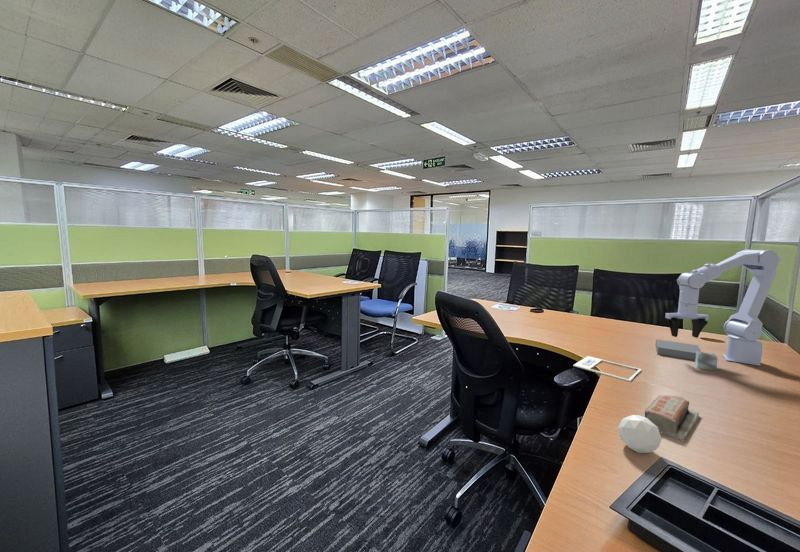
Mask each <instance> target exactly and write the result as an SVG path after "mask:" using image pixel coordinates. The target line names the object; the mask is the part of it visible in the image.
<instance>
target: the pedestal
mask: <svg viewBox="0 0 800 552" xmlns="http://www.w3.org/2000/svg"><path fill="white" fill-rule="evenodd" d="M655 350H656V355H658V356H659V355H660V356H664V357H665V356H666V357H667V356H668V357H673V358H678V359H683V360H690V361H695V359H696V351H698V352H702V351H701V348H700V347H699V344H698V345H697V344H692V343H685V342H678V341H671V340H666V339H665V340H664V339H657V338H656V339H655Z"/></svg>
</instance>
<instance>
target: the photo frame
mask: <svg viewBox="0 0 800 552" xmlns="http://www.w3.org/2000/svg"><path fill="white" fill-rule="evenodd" d="M602 362H603V363H607V364H610V365H611V364H612V365H615V366H619V367H623V368H627V369H632V370H636V371H635V372H634V373H633V374H632V375H631V376H630V377H629V378H626V377H622V376H617V375H614V374H610V373H607V372H603V371H600V370H596V369H593V368H595V367H596V366H597V365H600V363H602ZM573 367H576V368H579V369H582V370H586V371H589V372H593V373H597V374H600V375H604V376H608V377H611V378H615V379H619V380H622V381H626V382H632V381H633V380H634V379H635V378H636V377H637V376H638V375H639V374H640V373H641V372H642V368H639V367H634V366H630V365H626V364H622V363H617V362H613V361H609V360H606V359H602V358H597V357H593V356H590V355H587V356H586V357H584V358H582V359H581V360H579V361H577V362H576V363H574V364H573ZM637 374H638V375H637ZM636 375H637V376H636ZM635 376H636V377H635ZM634 377H635V378H634Z"/></svg>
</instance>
